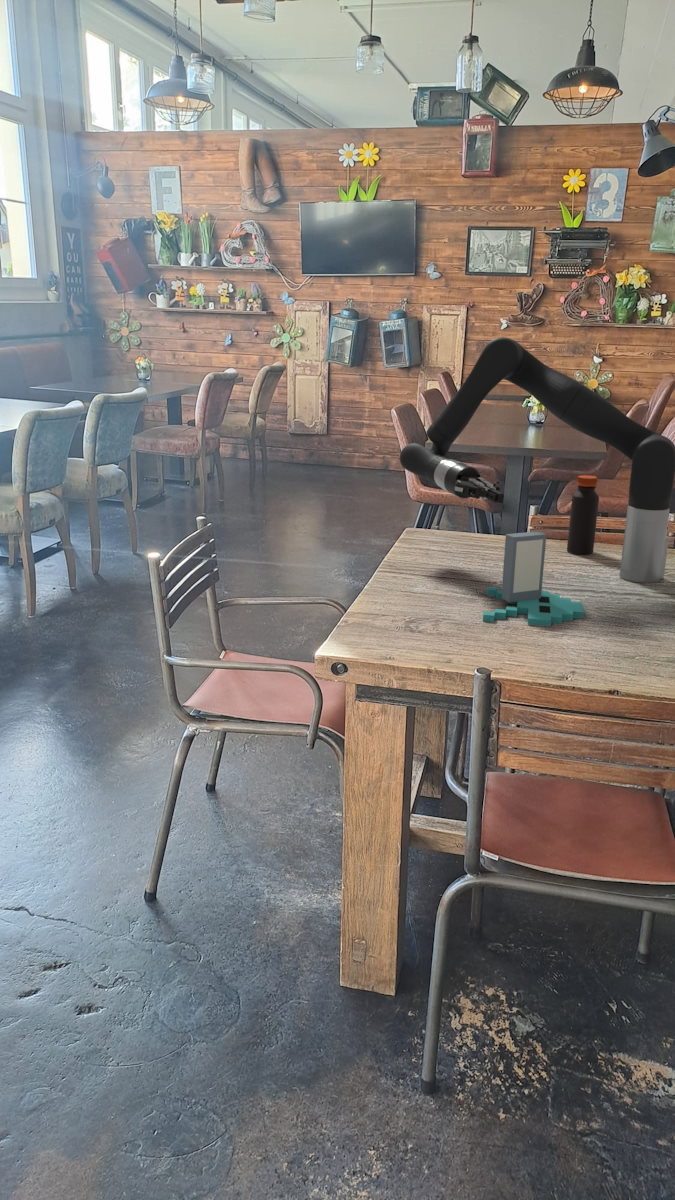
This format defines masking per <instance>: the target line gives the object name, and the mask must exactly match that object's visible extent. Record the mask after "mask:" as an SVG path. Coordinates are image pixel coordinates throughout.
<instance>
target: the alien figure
mask: <svg viewBox="0 0 675 1200" xmlns="http://www.w3.org/2000/svg"><path fill="white" fill-rule="evenodd" d="M486 596H488V597H489V596H492V597H495V598H496V600H504V599H502V598H501V596H502V589H501V590H500V589H499V590H498V587H495V586H487V588H486ZM571 600H572V599H571V598H569V597H561V596H560V594H558V593H557V594H556V593H555V594H554V593H550V592H549V590H542V592H541V598H540V599H532V600H523V601H515V602H508V601H506V603H507V604H514V605H515V604H516V606H506V607H505V609H501V608H494V611H485V610H484V611H483V613H482V614H483V615H482V622H491V623H495V619H496V620H497V619H499V620H506V617H514V618H516V617H517V615H518V614H519V615H520V614H521V615H527V625H529V626H541V627H551V626H552V624H561V625H562V623H563V621H564V622H565V621H568V622H573V621H574V620H573V619H584V615H585V610H584V607H583V602H581V601H580V602H579V601H571ZM504 601H505V600H504Z"/></svg>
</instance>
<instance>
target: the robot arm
mask: <svg viewBox="0 0 675 1200" xmlns="http://www.w3.org/2000/svg"><path fill="white" fill-rule="evenodd" d="M503 380H506V381H508V382H509V383H512V384H514V385H516V386H517V387H519V388H521V389H523V390H524V391H526V392H528V393H529V394H530V395H531V396H532V397H533V398H534V399H536V400H537V401H538V403H539V404H541V405H542V406H543V407H544V408H545V409H546V410H547V411H549V412H550V413H551V414H552V415H554V416H555V417H556V418H557V419H559V420H560V421H562V422H563V423H565V424H566V425H567V426H570V427H571V428H572V429H574V430H576V431H578V432H580V433H582V434H584V435H586V436H589V437H590V438H592V439H596V440H598V441H601V442H603V443H605V444H607V445H609V446H611V447H612V448H614V449H616V450H617V451H619V452H620V453H622V454H623V455H624V456H626V457H627V458H628V459H629V460H631V461H632V462H631V469H630V478H629V488H628V500H627V501H628V502H627V511H626V517H625V518H626V520H625V527H624V535H623V542H622V544H623V545H622V552H621V559H620V561H621V562H620V570H619V577H620V578H622V579H623V580H626V581H631V582H635V583H657V582H659V581H661V580H662V579H664V578H665V572H666V563H667V557H668V550H669V541H670V540H669V539H668V538H667V532H668V523H669V518H670V517H669V516H670V507H671V502H672V497H673V486H674V479H675V443H674V441H672V440H671V439H670V438H668V437H667V436H664V435H662V434H660V433H659V432H656V431H654V430H651V429H650V428H648V427H646V426H644V425H642V424H640V423H638V422H637V421H634V420H633V419H632V418H630V417H628V416H627V415H626V414H625V413H624V412H622V411H621V410H620V409H619V408H617V407H616V406H615V405H614V404H612V403H611V402H610V401H608V400H606V398H604V397H602V395H600V394H598V393H596V392H595V391H593V390H592V389H591V388H589V387H587V386H585V385H584V384H583V383H581V382H579V381H577V380H576V379H574V378H572V377H570V376H568V375H566V374H564V373H562V372H561V371H558V370H556V369H553V368H551V367H550V366H548V365H546V364H545V363H543V362H542V361H540V360H539V358H537V357H535V355H533V354H532V353H530V352H529V351H528V350H527V349H526V348H525V347H523V346H522V345H521V344H520V343H519V342H518V341H516V340H514V339H513V338H510V337H504V336H501V337H496V338H493V339H491V340H490V341H489V342H487V343H486V344H485V346H484V347H483V349H482V351H481V353H480V355H479V357H478V359H477V360H476V362H475V364H474V366H473V368H472V370H471V371H470V373H469V374H468V376H467V377H466V378H465V380H464V382H463V383H462V385H461V386H460V387H459V389H458V390H457V391H456V393H455V394H454V395H453V396H452V397H451V399H450V400H449V401H448V403H447V404H446V405H445V407H444V408H443V409H442V410H441V411H440V412H439V414H438V415H437V416H436V418H435V419H434V420H433V421H432V423H431V424H430V425H429V427H428V428H427V431H426V436H427V439H429V440H430V442H431V443H432V447H431V448H430V449H429V448H427V447H426V446H424V445H421V444H420V443H418V442H417V443H416V442H413V443H409V444H407V445H405V446H404V447H403V448H402V449H401V451H400V453H399V461H400V462H399V463H400V464H401V466H402V467H403V469H405V470H406V471H408V472H410V473H412V474H414V475H415V476H418V477H419V478H421V479H424V480H427V481H429V482H430V483H432V484H433V485H435V486H437V487H440V488H441V489H442V490H444V491H446V492H447V493H449V494H452V495H453V496H455V497H457V498H459V499H464V500H465V499H469V498H471V499H477V500H479V499H483V500H485V501H486V500H489V501H491V502H493V503H495V504H503V503H504V499H505V494H504V493H503V492H501V487H502V482H501V481H496V482H493V484H492V483H491V482H489V481H488V480H486V478H483V477H481V474H480V472H479V471H478V469H476V468H475V467H473V466H471V465H468V464H466V463H464V462H461V461H458V460H456V459H451V458H449V457H447V455H448V452H449V450H450V448H451V446H452V444H453V443H454V442H455V441H456V440H457V438H459V436H460V435H461V433H462V432H463V431H464V430H465V428H466V427H467V425H469V423H470V421H471V420H472V418H473V416H474V414H475V413H476V412H477V410H478V408H479V407H480V405H481V404H482V402H483V401H484V399H485V398H486V397H487V396H488V395H489V393H491V391H492V390H493V389H494V388H495V387H496V386H497V385H498V384H500V382H502V381H503Z"/></svg>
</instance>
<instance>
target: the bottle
mask: <svg viewBox="0 0 675 1200" xmlns="http://www.w3.org/2000/svg"><path fill="white" fill-rule="evenodd" d="M597 485H598V477H597V476H595V475H587V474H586V475H577V481H576V487H577V490H576V491H575V492H574V493H573V494H572V495H571V506H570V512H569V522H568V523H569V525H568V535H567V542H566V543H567V545H566V551H567V553H570V554H572V555H576V556H577V555H578V556H580V555H581V556H586V555H587V556H588V555H591V554H593V553H594V549H595V548H594V547H595V540H596V530H597V529H596V528H597V521H598V512H599V510H598V509H599V503H600V501H599V500H600V497H599V495H598V494H597V492H596V488H597Z"/></svg>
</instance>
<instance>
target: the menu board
mask: <svg viewBox="0 0 675 1200" xmlns="http://www.w3.org/2000/svg"><path fill="white" fill-rule="evenodd" d="M504 539H505V540H504V541H505V542H504V554H503V555H504V556H503V568H502V581H501V582H502V584H501V591H502V596H501V598H502V599H504V601H505V602H507V601H508V602H515V601H523V600H532V599H540V598H541V592H542V591H543V579H544V578H543V577H544V570H545V569H544V567H545V566H544V565H545V557H546V556H545V553H546V543H547V534H546V533H543V532H541V531H537V530H536V531H528V532H527V531H526V532H517V533H505V538H504ZM502 599H501V600H502Z"/></svg>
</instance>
